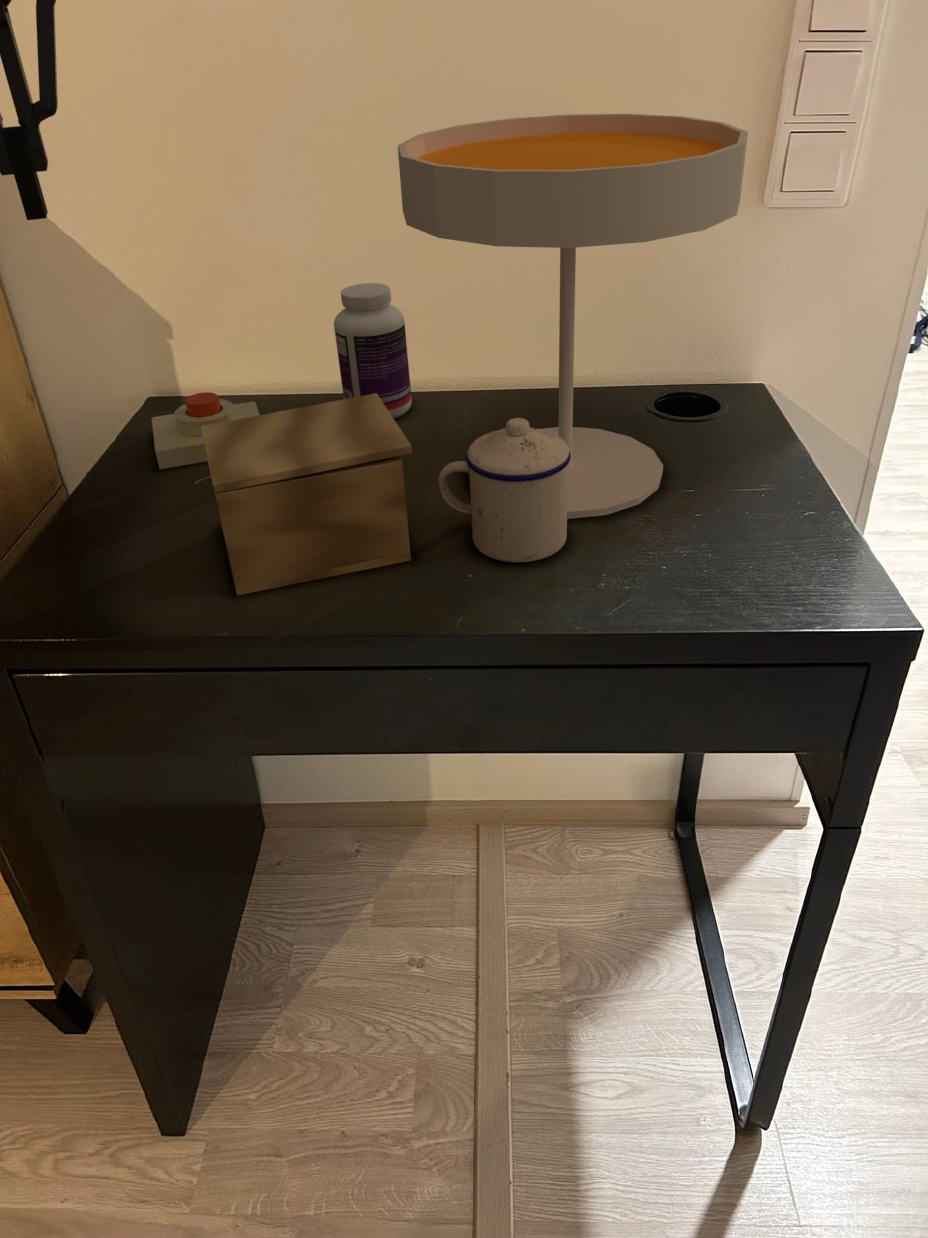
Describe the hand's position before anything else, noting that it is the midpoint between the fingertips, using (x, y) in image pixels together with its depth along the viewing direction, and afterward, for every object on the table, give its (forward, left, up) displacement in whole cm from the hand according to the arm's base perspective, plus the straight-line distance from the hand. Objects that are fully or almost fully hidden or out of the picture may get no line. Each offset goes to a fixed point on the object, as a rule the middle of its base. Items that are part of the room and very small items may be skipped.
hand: (37, 215), depth 79 cm
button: (+10, +15, -25) cm, 31 cm away
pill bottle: (+30, +16, -29) cm, 44 cm away
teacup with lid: (+34, -18, -29) cm, 48 cm away
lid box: (+17, -12, -28) cm, 35 cm away
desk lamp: (+44, -8, -29) cm, 53 cm away
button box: (+10, +15, -28) cm, 34 cm away
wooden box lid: (+17, -12, -18) cm, 28 cm away
